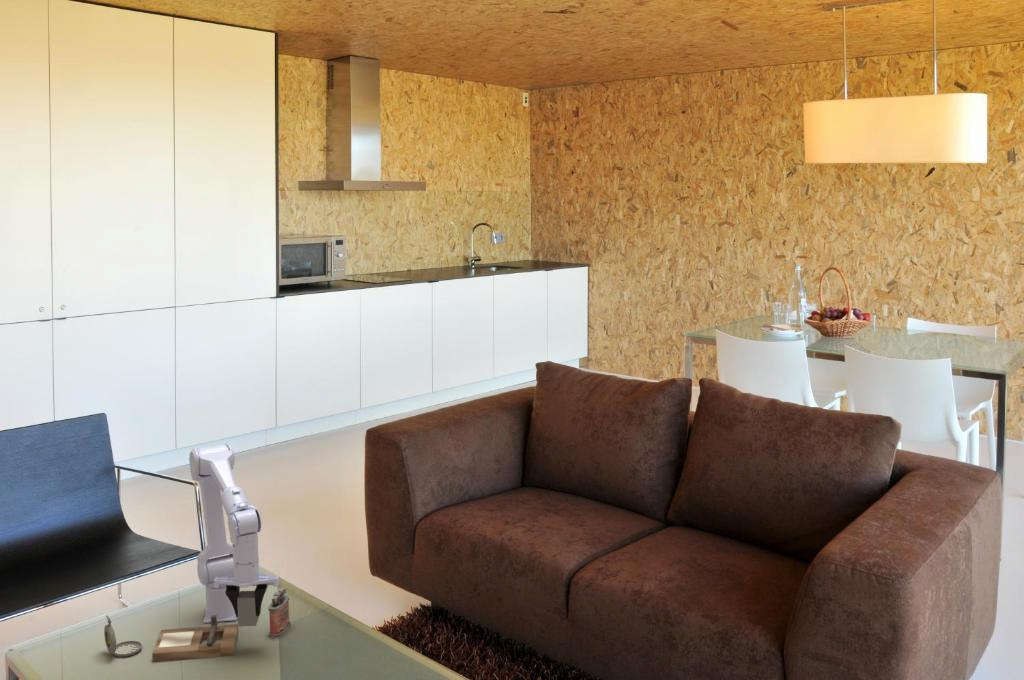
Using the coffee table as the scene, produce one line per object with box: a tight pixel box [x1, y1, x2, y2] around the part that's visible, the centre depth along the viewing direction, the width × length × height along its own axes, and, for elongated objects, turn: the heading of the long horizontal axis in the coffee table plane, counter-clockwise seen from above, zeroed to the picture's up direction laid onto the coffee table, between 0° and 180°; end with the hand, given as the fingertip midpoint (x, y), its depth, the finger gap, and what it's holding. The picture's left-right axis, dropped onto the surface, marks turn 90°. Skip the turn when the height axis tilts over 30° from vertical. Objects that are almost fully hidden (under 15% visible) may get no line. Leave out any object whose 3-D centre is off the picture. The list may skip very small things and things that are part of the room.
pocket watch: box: [103, 614, 143, 657], centre depth 224 cm, size 8×8×10 cm
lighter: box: [267, 587, 291, 639], centre depth 236 cm, size 8×3×10 cm, turn 168°
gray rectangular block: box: [237, 590, 260, 628], centre depth 225 cm, size 4×4×7 cm
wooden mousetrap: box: [151, 615, 239, 662], centre depth 228 cm, size 12×18×5 cm, turn 101°
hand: (248, 614), depth 226 cm, fingers closed on gray rectangular block, 4 cm apart
